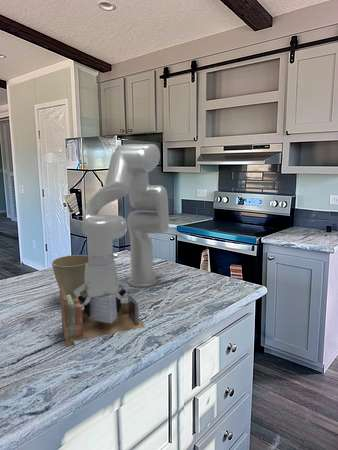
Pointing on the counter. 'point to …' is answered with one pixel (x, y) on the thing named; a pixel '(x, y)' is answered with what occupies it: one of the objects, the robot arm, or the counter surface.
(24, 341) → the counter surface
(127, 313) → the rack
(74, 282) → the plant pot
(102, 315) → the medicine box
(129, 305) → the bookend
